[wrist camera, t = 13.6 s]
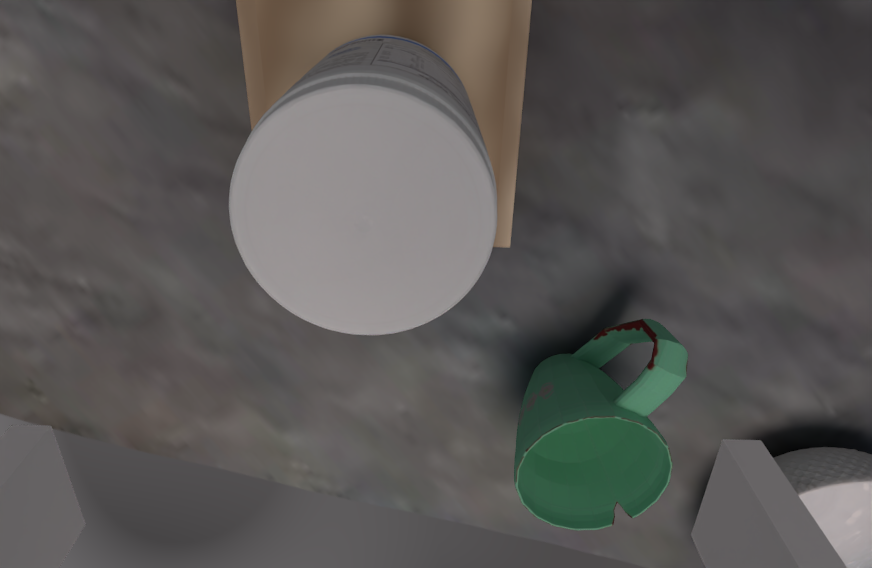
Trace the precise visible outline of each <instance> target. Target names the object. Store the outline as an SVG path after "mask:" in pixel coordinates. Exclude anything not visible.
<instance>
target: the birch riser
mask: <svg viewBox="0 0 872 568" xmlns="http://www.w3.org/2000/svg"><path fill="white" fill-rule="evenodd" d="M236 5H237V13H238V21H239V29H240V38H241V46H242V54H243V63H244V71H245V79H246V87H247V96H248V104H249V112H250V121H251V129H252V130H253V128H254V127H255V126H256V124H257V123H258V121H259V120H260V119H261V117H262V116H263V115H264V114H265V113H266V112H267V111H268V110H269V109H270V108H271V106H272V105H273V104H274V103H275V102H276V101H277V100H279V99H280V98H281V97H282V96H283V95H284V94H285V93H286V92H287V91H288V90H289V89H290V88H291V87H292V86H293V85H294V84H295V83H296V82H297V81H299V80H300V79H301V78H302V77H303V76H304V75H305V74H306V73H307V72H309V71H310V70H311V69H312V68H313V67H314V66H315V65H316V64H317V63H319V62H320V61H321V60H322V59H323V58H324V57H325V56H327V55H328V54H329V53H330V52H332V51H333V50H335V49H336V48H338V47H339V46H341V45H343V44H345V43H347V42H349V41H352V40H354V39H358V38H361V37H366V36H371V35H393V36H400V37H404V38H408V39H411V40H414V41H417V42H419V43H421V44H423V45H425V46H427V47H428V48H430V49H432V50H433V51H435V52H436V53H437V54H439V55H440V56H441V57H442V58H444V59H445V60H446V61H447V62H448V63H449V65H450V66H451V67H452V68H453V69H454V71H455V72H456V74H457V75H458V76H459V78H460V80H461V81H462V83H463V85H464V87H465V90H466V92H467V94H468V97H469V100H470V102H471V105H472V108H473V111H474V114H475V117H476V119H477V122H478V125H479V128H480V131H481V134H482V137H483V140H484V143H485V146H486V149H487V152H488V155H489V158H490V162H491V165H492V169H493V172H494V177H495V181H496V190H497V229H496V236H495V240H494V244H493V247H510V241H511V230H512V219H513V207H514V196H515V185H516V174H517V162H518V151H519V140H520V129H521V117H522V106H523V95H524V83H525V72H526V61H527V50H528V38H529V27H530V16H531V5H532V0H236Z"/></svg>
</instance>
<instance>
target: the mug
mask: <svg viewBox="0 0 872 568" xmlns="http://www.w3.org/2000/svg"><path fill="white" fill-rule="evenodd" d="M651 341H653V342H654V348H653V353H652V358H651V360H650V362H649V363H648V365H647V366H646V367H645V369H644V370H643V371H642V373H641V374H640V375H639V377H638V378H637V379H636V380H635V381H634V382H633V383H632V384H631V385H630V386H628V387H627V388H626V389H625V390H623V389H622V388H621V387H620V386H619V385H618V384H617V383H616V382H615V381H613V380H612V379H611V378H610V377H609V376H608V375H607V374H605V373H604V372H603V371H601V370H600V369H599V368H600V367H601V366H603V365H604V364H605V363H607V362H608V361H609V360H611V359H612V358H613V357H615V356H616V355H617V354H619V353H620V352H621V351H623V350H624V349H625V348H627V347H628V346H629V345H631V344H632V343H641V342H651ZM687 361H688V353H687V351H686V349H685V348H684V347H683V345H682V344H681V343H680V342H679V341H678V340H677V339H676V338H675V337H674V336H673V335H672V334H671V333H670V332H669V331H668V330H667V329H666V328H665V327H663V326H662V325H661V324H660V323H658V322H656V321H654V320H651V319H641V320H636V321H632V322H628V323H624V324H620V325H615V326H611V327H607V328H605V329H603V330H602V331H601V332H600V333H598V334H597V335H596V336H595V337H593V338H592V339H591V340H590V341H589V342H587V343H586V344H585V345H584V346H582V347H581V348H580V349H579V350H577V351H576V352H575V353H574V354H557V355H554V356H550V357H548V358H547V359H545V360H543V361H542V362H541V363H540V364H539V365H538V366H537V367H536V368H535V370H534V372H533V374H532V377H531V379H530V382H529V384H528V387H527V389H526V392H525V395H524V399H523V403H522V407H521V411H520V415H519V422H518V428H517V438H516V452H515V465H514V482H515V488H516V490H517V493H518V495H519V498H520V500H521V503H522V504H523V505H524V506H525V507H526V508H527V509H528V510H529V511H530V512H531V513H532V514H533V515H534V516H535V517H536V518H538V519H540V520H542V521H544V522H546V523H548V524H550V525H552V526H556V527H561V528H566V529H571V530H598V529H602V528H606V527H610V526H613V523H614V518H615V514H614V509H615V506H616V504H617V502H618V503H619V504H620V505H621V506H622V508H623V509H624V511H625V512H626V513H627V514H628V515H629V516H630V517H631V518H634V517H636V516H638V515H641V514H642V513H643V512H644V511H645V510H647V509H648V508H649V507H650V506H652V505H653V504H654V503H655V502H656V501H658V499H659V498H660V496H661V495H662V493H663V492H664V490H665V489H666V487H667V486H668V484H669V481H670V476H671V472H672V467H673V464H672V459H671V455H670V450H669V447H668V445H667V443H666V441H665V439H664V438H663V436H662V435H661V434H660V432H659V431H658V430H657V428H656V427H655V426H654V425H653V423H652V422H651V421H650V420H649V419H648V417H647V416H648V415H649V414H650V413H651V412H653V411H654V410H655V409H656V408H657V407H658V406H659V405H660V404H662V403H663V402H664V401H665V400H666V399H667V398H668V397H669V396H670V395H671V394H672V393H673V392H674V391H675V390H676V388H677V387H678V386H679V385H680V384H681V382H682V381H683V380H684V379H685V378H686V372H687Z"/></svg>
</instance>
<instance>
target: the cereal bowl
mask: <svg viewBox="0 0 872 568" xmlns="http://www.w3.org/2000/svg"><path fill="white" fill-rule="evenodd" d="M773 459H774V460H775V462H776V463H777V465H778V466H779V468H780V469H781V471H782V472H783V474H784V475H785V477H786V478H787V479H788V481H789V482H790V484H791V485H792V487H793V488H794V490H795V491H796V493H797V494H798V496H799V497H800V499H801V500H802V502H803V503H804V505H805V506H806V508H807V509H808V511H809V512H810V514H811V515H812V516H813V518H814V519H815V521H816V522H817V524H818V525H819V527H820V528H821V530H822V531H823V533H824V534H825V536H826V537H827V539H828V540H829V542H830V543H831V545H832V546H833V548H834V549H835V551H836V552H837V553H838V555H839V556H840V558H841V559H842V561H843V562H844V564H845V565H846V567H847V568H872V454H868V453H866V452H860V451H857V450H855V449H846V448H836V447H820V448H819V447H818V448H808V449H801V450H797V451H791V452H788V453H785V454H782V455H780V456H777V457H774V458H773Z"/></svg>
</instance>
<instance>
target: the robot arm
mask: <svg viewBox="0 0 872 568" xmlns="http://www.w3.org/2000/svg"><path fill="white" fill-rule="evenodd" d="M85 525H86V524H85V521H84V518H83V516H82V513H81V510H80V507H79V504H78V501H77V498H76V495H75V492H74V490H73V487H72V484H71V481H70V478H69V475H68V473H67V470H66V467H65V464H64V461H63V458H62V455H61V452H60V449H59V447H58V444H57V441H56V438H55V435H54V432H53V429H52V426H32V425H29V426H28V425H11V426H10V427H9V428H8V429H7V431H6V432H5V433H4V434H3V435H2V436H1V437H0V568H59V567H60V566H61V564H62V563H63V561H64V559H65V558H66V556H67V554H68V553H69V551H70V549H71V548H72V546H73V545H74V543H75V541H76V540H77V538H78V536H79V535H80V533H81V531H82V529H83V528H84V527H85ZM691 537H692V539H693V541H694V543H695V546H696V548H697V550H698V552H699V555H700V557H701V559H702V561H703V564H704V566H705V568H847V567H846V565H845V564H844V562H843V561H842V559H841V558H840V556H839V555H838V553H837V552H836V551H835V549H834V548H833V546H832V545H831V543H830V542H829V540H828V539H827V537H826V536H825V534H824V533H823V531H822V530H821V528H820V527H819V525H818V524H817V522H816V521H815V519H814V518H813V516H812V515H811V514H810V512H809V511H808V509H807V508H806V506H805V505H804V503H803V502H802V500H801V499H800V497H799V496H798V494H797V493H796V491H795V490H794V488H793V487H792V485H791V484H790V482H789V481H788V479H787V478H786V477H785V475H784V474H783V472H782V471H781V469H780V468H779V466H778V465H777V463H776V462H775V460H774V459H773V457H772V456H771V454H770V453H769V451H768V450H767V448H766V447H765V445H764V444H763V442H762V441H761V440H731V439H722V442H721V445H720V448H719V451H718V454H717V457H716V460H715V464H714V467H713V470H712V473H711V476H710V479H709V482H708V485H707V488H706V491H705V494H704V497H703V500H702V503H701V506H700V509H699V512H698V515H697V518H696V521H695V524H694V527H693V530H692V533H691Z"/></svg>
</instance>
